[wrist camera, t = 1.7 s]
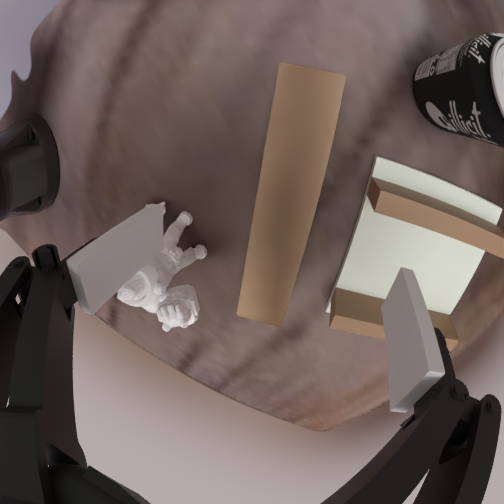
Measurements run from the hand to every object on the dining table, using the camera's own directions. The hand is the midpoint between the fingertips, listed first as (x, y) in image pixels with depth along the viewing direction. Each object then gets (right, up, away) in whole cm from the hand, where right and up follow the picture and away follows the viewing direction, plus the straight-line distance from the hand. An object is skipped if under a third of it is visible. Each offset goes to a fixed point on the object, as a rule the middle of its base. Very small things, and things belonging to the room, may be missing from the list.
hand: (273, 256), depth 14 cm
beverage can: (+15, +13, +1) cm, 20 cm away
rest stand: (+14, 0, +9) cm, 17 cm away
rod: (+2, +5, +9) cm, 11 cm away
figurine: (-7, +3, +14) cm, 16 cm away
